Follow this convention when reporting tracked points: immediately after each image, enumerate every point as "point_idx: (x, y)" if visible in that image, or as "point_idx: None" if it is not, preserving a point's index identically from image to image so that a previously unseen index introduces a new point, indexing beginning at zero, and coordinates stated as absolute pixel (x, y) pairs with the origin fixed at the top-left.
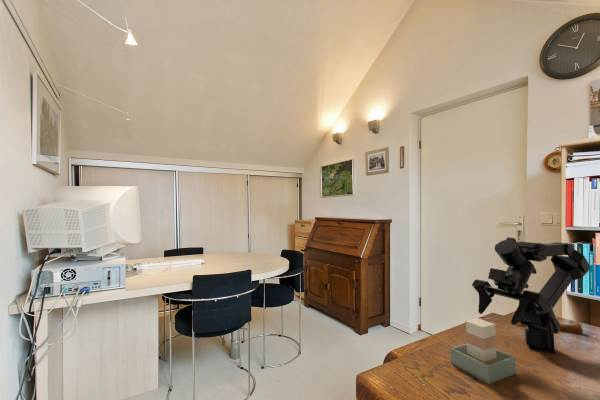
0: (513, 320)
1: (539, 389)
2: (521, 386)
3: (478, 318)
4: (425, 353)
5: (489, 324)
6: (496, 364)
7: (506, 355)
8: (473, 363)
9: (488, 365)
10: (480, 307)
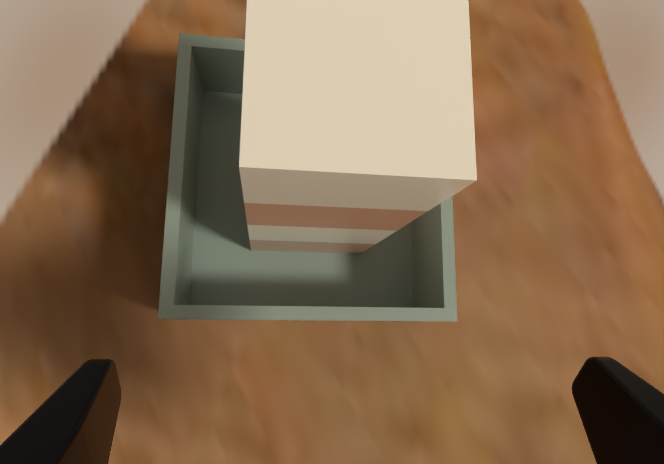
0: (61, 388)
1: (23, 268)
2: (93, 210)
3: (463, 176)
4: (540, 76)
5: (269, 97)
6: (174, 113)
7: (216, 306)
8: None
9: (187, 49)
10: (656, 408)
